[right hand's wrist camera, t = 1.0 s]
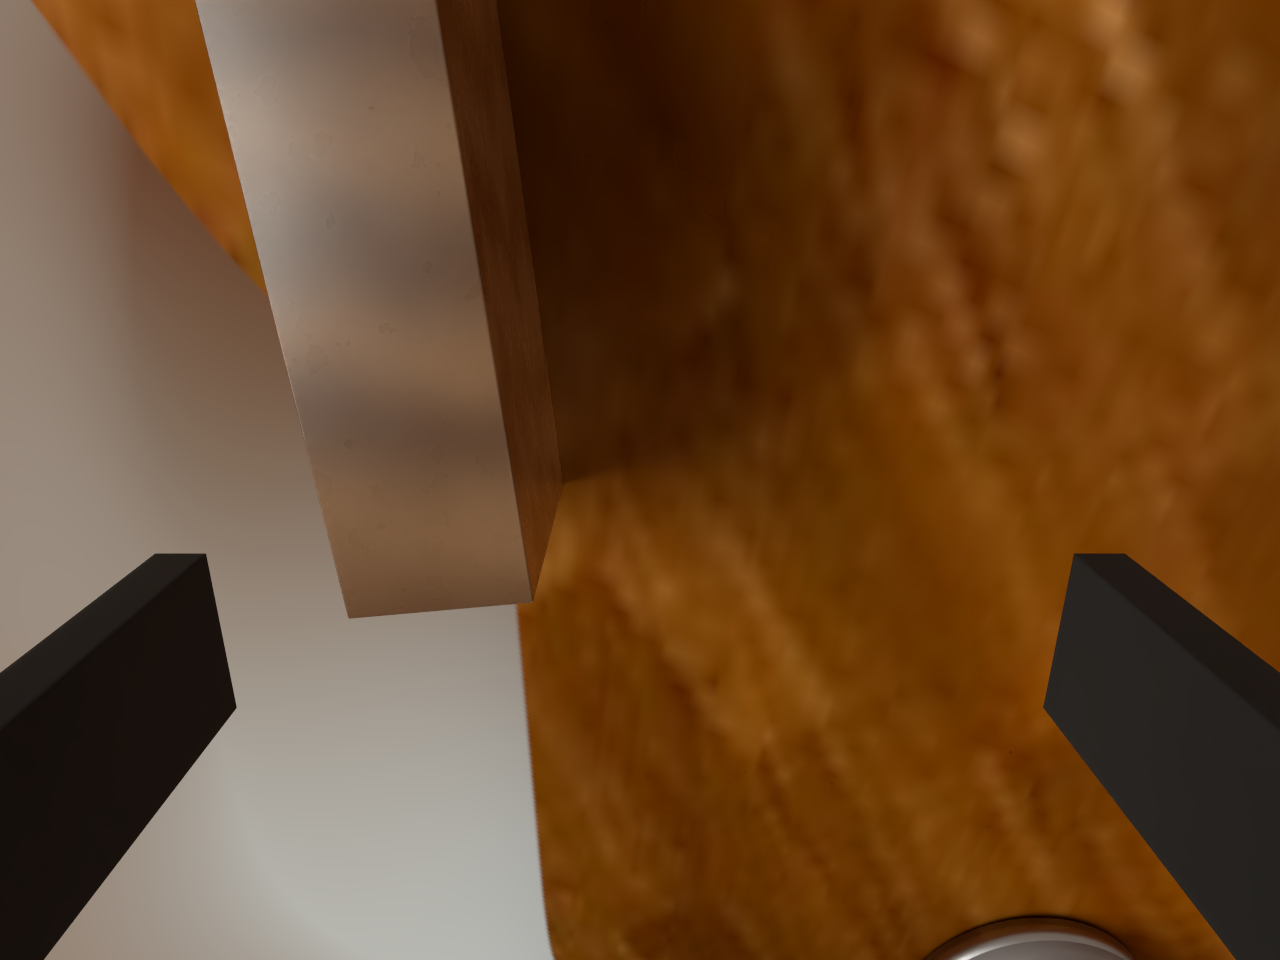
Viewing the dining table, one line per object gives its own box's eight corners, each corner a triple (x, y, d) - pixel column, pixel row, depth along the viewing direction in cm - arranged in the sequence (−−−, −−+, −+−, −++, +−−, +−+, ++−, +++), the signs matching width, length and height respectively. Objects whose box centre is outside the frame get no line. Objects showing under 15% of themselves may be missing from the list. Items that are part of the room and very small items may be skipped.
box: (563, 484, 39) (533, 602, 28) (430, 496, 39) (347, 619, 28) (481, -110, 31) (393, -271, 20) (313, -90, 31) (134, -239, 20)
